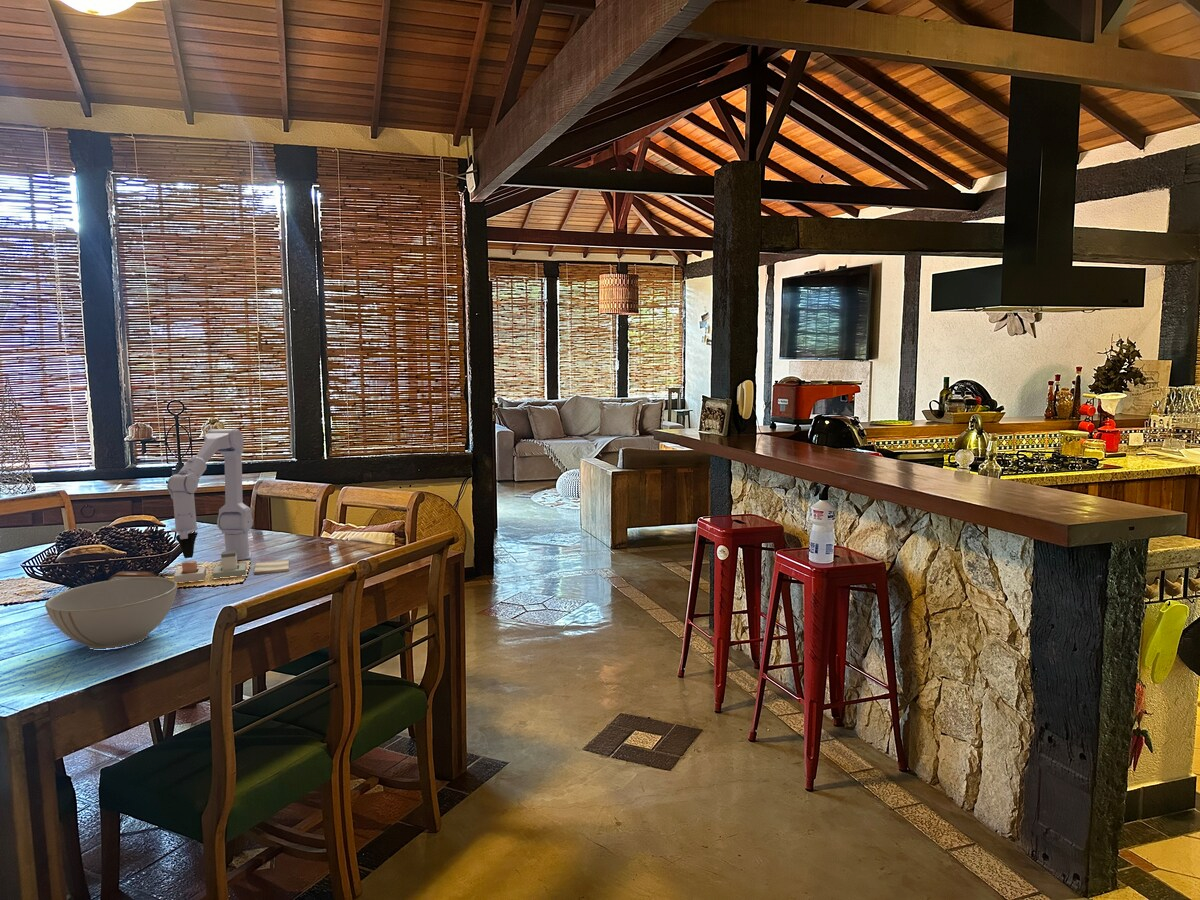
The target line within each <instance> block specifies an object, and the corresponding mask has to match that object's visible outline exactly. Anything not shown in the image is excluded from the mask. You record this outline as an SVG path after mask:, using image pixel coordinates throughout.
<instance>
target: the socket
mask: <svg viewBox="0 0 1200 900" xmlns="http://www.w3.org/2000/svg"><path fill="white" fill-rule="evenodd" d="M237 567H238V569H234V570H225V571H222V564H221V565H215V566H214V568H213V571H212V579H213V578H220V577H230V576H242V575H247V571H246V569H247V570H248V565H247V562H242V563H237ZM242 577H243V576H242Z"/></svg>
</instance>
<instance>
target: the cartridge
mask: <svg viewBox="0 0 1200 900" xmlns="http://www.w3.org/2000/svg"><path fill="white" fill-rule="evenodd" d="M220 556H221V558H220V559H221V565H222V571H225V570H234V569H238V567H237V564H238V560H237V555H236V550H234V551H226V550H225V551H222V552H221V554H220Z"/></svg>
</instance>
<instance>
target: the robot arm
mask: <svg viewBox="0 0 1200 900" xmlns="http://www.w3.org/2000/svg"><path fill="white" fill-rule="evenodd" d="M203 438H204V443H203V444H202V446H201V447H200V449H199V451H198V452H197V454H196V455H195V456H192V457H189V458H188V459H187V461H186V462H185V463H184V465H183V466H182V467H181V468H180V469H179V472H177V474H172V475H171V476H170V477H169V479H168V480H167V485H166V488H167V490H168V492H169V494H170V498H171V500H172V502H173V513H174V515H173V516H174V524H175V525H174V526H175V528H171V530H170V532H171V533H173V532H174V533H176V534H177V535H176V536H175V540H176V541H177V542H178V544H179V546H180V549H181V552H182V555H183V557H184V559H190V558H193V557H194V552H195V551H194V550H195V544H196V539H197V537H198V535H199V534H198V533H199V532H197V530H198V526H197V525H198V524H197V513H196V502H195V492H196V491H197V489H198V487H199V482H200V478H201V477H202V475H203V474H204V473H205V471H207V462H208V461H209V460H210V459H211V458H212V457H213V456H214V454H215V453H219V454H220V455H222V457H224V492H225V493H224V498H225V500H224V501H225V502H224V504H223V506H221V507H220V508H219V509H218V516H217V521H216V524H217V525H216V526H217V528H218V530H219V531H221V534H224V545H225V546H224V547H225V551H234V550H236V555H237V561H243V560H250V559H251V558H252V553H253V552H252V551H250V545H249V544H250V543H249V532H250V531H251V529H252V528H253V525H254V519H253V516H252V509H251V507H249V506H248V505H247V504H245V503H244V502H243V501H244V500H243V462H242V461H243V459H242V456H243V455H242V454H243V453H244V434H243V433H242V432H241V430H240V429H238V428H222V429H221V428H220V429H219V428H217V429H216V428H210V429H208V430H207V431H206V434H204V437H203Z"/></svg>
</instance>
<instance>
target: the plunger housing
mask: <svg viewBox="0 0 1200 900" xmlns="http://www.w3.org/2000/svg"><path fill="white" fill-rule="evenodd" d="M205 575H206V576H207V567H206V566H199V567H198V566H197V572H195V573H187V574H183V570H182V568H181V569H179V568H178V569H176V570H175V573H174V574H173V580H174V581H175V582H178V583H179V582H189V581H198V580H204V578H205V579H206V577H205ZM204 581H205V580H204Z"/></svg>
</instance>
